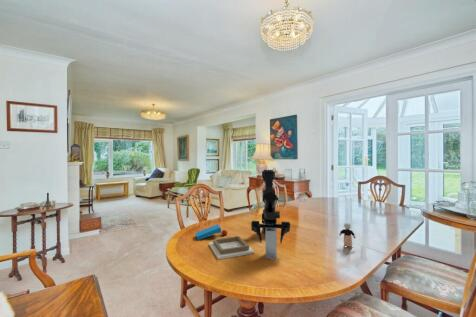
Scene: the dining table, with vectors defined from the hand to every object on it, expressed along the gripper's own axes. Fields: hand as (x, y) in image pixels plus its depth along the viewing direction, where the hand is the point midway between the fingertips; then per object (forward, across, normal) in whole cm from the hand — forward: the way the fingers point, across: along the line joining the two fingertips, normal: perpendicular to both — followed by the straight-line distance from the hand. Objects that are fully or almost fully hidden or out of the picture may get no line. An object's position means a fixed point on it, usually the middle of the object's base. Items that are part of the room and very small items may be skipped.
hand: (270, 243), depth 105 cm
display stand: (-1, -20, +10) cm, 23 cm away
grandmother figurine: (-7, +40, +17) cm, 44 cm away
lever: (-12, -34, +23) cm, 42 cm away
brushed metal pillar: (+4, 0, +6) cm, 7 cm away
